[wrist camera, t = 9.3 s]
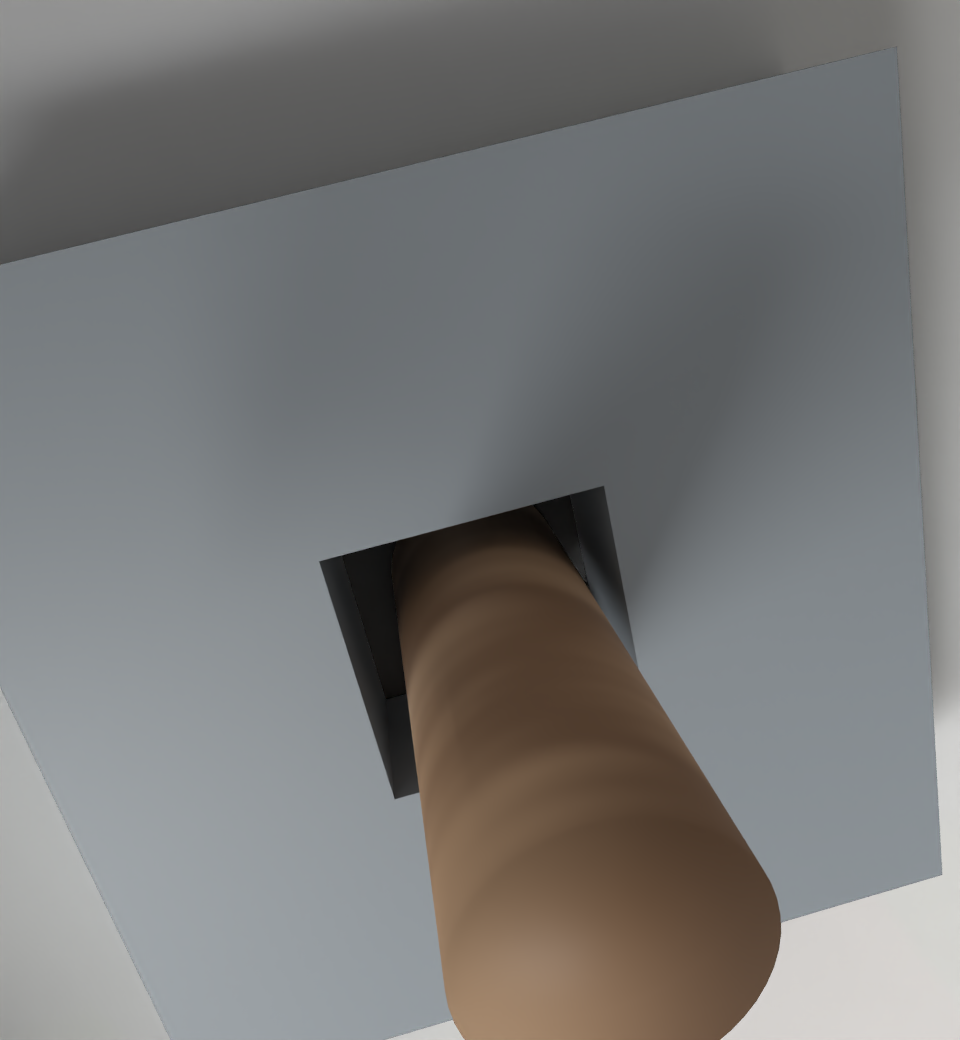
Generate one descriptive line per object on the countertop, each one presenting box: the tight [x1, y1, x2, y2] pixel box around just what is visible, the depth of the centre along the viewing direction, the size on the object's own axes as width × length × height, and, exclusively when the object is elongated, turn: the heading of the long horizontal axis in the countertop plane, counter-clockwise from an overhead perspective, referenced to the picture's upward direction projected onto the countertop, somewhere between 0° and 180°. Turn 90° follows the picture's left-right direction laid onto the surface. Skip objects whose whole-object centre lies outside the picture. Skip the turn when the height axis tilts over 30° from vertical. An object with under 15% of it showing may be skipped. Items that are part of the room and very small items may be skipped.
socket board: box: [0, 47, 942, 1040], centre depth 20 cm, size 18×18×4 cm
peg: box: [391, 505, 781, 1040], centre depth 16 cm, size 4×4×12 cm
